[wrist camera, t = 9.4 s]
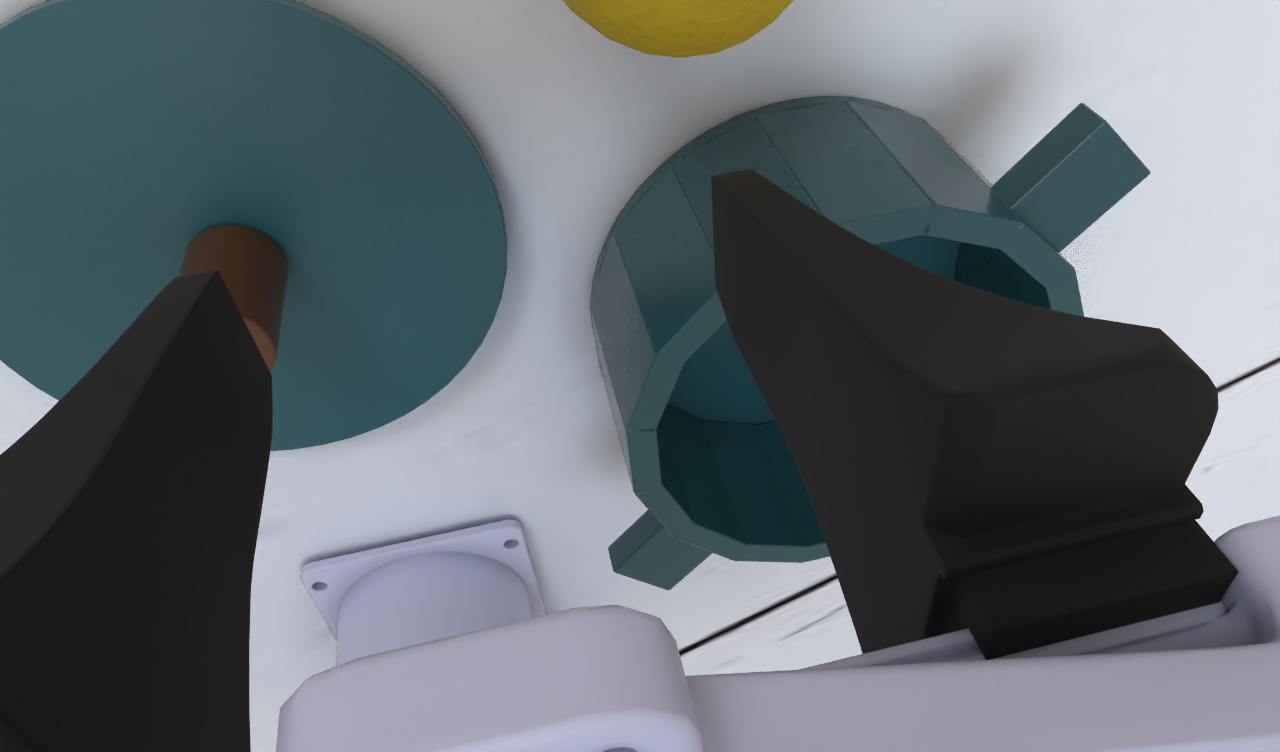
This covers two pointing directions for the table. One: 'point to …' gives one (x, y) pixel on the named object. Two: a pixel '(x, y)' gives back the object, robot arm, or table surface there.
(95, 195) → the lid
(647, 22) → the lemon
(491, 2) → the table surface
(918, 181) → the pot
